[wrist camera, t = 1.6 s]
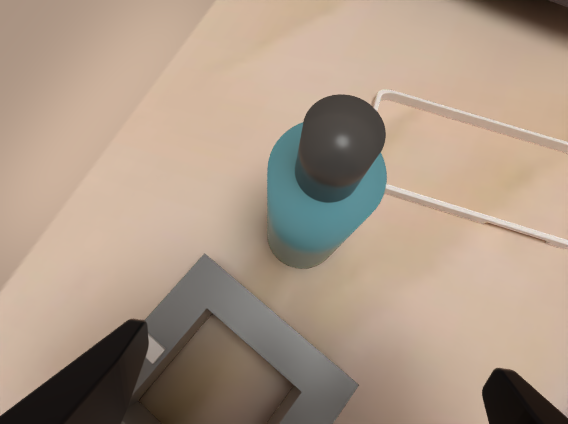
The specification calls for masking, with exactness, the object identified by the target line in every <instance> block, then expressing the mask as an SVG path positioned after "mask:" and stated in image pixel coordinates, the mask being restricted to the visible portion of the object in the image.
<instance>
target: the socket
mask: <svg viewBox="0 0 568 424" xmlns="http://www.w3.org/2000/svg"><path fill="white" fill-rule="evenodd" d="M212 313H213V314H214V315H215V316H216V317H217V318H219V319H220V320H221V321H222V322H223V323H224V324H225V325H227V326H228V327H229V328H230V329H231V330H232V331H233V332H234V333H236V334H237V335H238V336H239V337H240V338H241V339H242V340H244V341H245V342H246V343H247V344H248V345H249V346H250V347H252V348H253V349H254V350H255V351H256V352H257V353H258V354H259V355H261V356H262V357H263V358H264V359H265V360H266V361H267V362H269V363H270V364H271V365H272V366H273V367H274V368H275V369H276V370H278V371H279V372H280V373H281V374H282V375H283V376H284V377H286V378H287V379H288V380H289V381H290V382H291V383H292V384H293V385H294V386H293V388H292V389H291V391H290V392H289V393H288V395H287V396H286V397H285V399H284V400H283V402H282V403H281V404H280V406H279V407H278V408H277V410H276V411H275V412H274V414H273V415H272V417H271V418H270V419H269V421H268V422H267V423H266V424H333V423H334V421H335V420H336V418H337V417H338V415H339V414H340V412H341V411H342V410H343V408H344V407H345V405H346V404H347V402H348V401H349V399H350V398H351V396H352V395H353V393H354V392H355V390H356V389H357V387H358V386H359V384H357V383H356V382H355V381H354V380H353V379H351V378H350V377H349V376H348V375H347V374H346V373H344V372H343V371H342V370H341V369H340V368H339V367H337V366H336V365H335V364H334V363H333V362H332V361H330V360H329V359H328V358H327V357H326V356H324V355H323V354H322V353H321V352H320V351H319V350H317V349H316V348H315V347H314V346H313V345H312V344H310V343H309V342H308V341H307V340H306V339H305V338H303V337H302V336H301V335H300V334H299V333H297V332H296V331H295V330H294V329H293V328H292V327H290V326H289V325H288V324H287V323H286V322H285V321H283V320H282V319H281V318H280V317H279V316H278V315H276V314H275V313H274V312H273V311H272V310H271V309H269V308H268V307H267V306H266V305H265V304H263V303H262V302H261V301H260V300H259V299H258V298H256V297H255V296H254V295H253V294H252V293H251V292H249V291H248V290H247V289H246V288H245V287H244V286H242V285H241V284H240V283H239V282H238V281H236V280H235V279H234V278H233V277H232V276H231V275H229V274H228V273H227V272H226V271H225V270H224V269H222V268H221V267H220V266H219V265H218V264H217V263H215V262H214V261H213V260H212V259H211V258H209V257H208V256H207V255H206V254H204V255H203V256H202V257H201V258H200V259H199V260H198V261H197V263H196V264H195V265H194V266H193V267H192V268H191V269H190V270H189V271H188V273H187V274H186V275H185V276H184V277H183V278H182V279H181V280H180V281H179V283H178V284H177V285H176V286H175V287H174V288H173V289H172V290H171V291H170V293H169V294H168V295H167V296H166V297H165V298H164V299H163V300H162V301H161V303H160V304H159V305H158V306H157V307H156V308H155V309H154V310H153V311H152V313H151V314H150V315H149V316H148V317H147V318H146V319H145V320H144V321H146V322H147V326H148V338H149V347H148V351H147V354H146V357H145V360H144V363H143V366H142V369H141V371H140V374H139V377H138V380H137V383H136V386H135V389H134V391H133V394H132V397H131V400H130V403H129V405H128V408H127V411H126V413H125V416H124V418H123V420H122V422H121V424H162V423H160V422H159V421H158V420H157V419H156V418H155V417H154V416H153V415H152V414H151V413H150V412H149V411H148V410H147V409H146V408H145V407H144V406H143V405H142V404H141V403H140V402H139V401H138V400H139V399H140V398H141V397H142V395H143V394H144V393H145V392H146V391H147V389H148V388H149V387H150V386H151V385H152V384H153V382H154V381H155V380H156V379H157V378H158V376H159V375H160V374H161V373H162V372H163V371H164V369H165V368H166V367H167V366H168V365H169V363H170V362H171V361H172V360H173V359H174V358H175V356H176V355H177V354H178V353H179V352H180V350H181V349H182V348H183V347H184V346H185V345H186V343H187V342H188V341H189V340H190V339H191V337H192V336H193V335H194V334H195V333H196V332H197V330H198V329H199V328H200V327H201V326H202V324H203V323H204V322H205V321H206V320H207V319H208V317H209V316H210V315H211V314H212Z"/></svg>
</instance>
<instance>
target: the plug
mask: <svg viewBox="0 0 568 424" xmlns="http://www.w3.org/2000/svg"><path fill="white" fill-rule="evenodd" d="M385 137H386V132H385V126H384V123H383V120H382V118H381V117H380V115H379V113H378V112H377V111H376V110H375V109H374V108H373V107H372V106H371V105H370V104H369V103H367V102H366V101H364V100H362V99H360V98H357V97H354V96H350V95H332V96H328V97H325V98H323V99H321V100H319V101H318V102H316V103H315V104H314V105H313V106H312V107H311V108H310V109H309V110H308V112H307V114H306V116H305V118H304V122H303V123H300V124H298V125H296V126H294V127H292V128H291V129H289V130H288V131H287V132H286V133H284V134H283V135H282V136H281V137H280V139H279V140H278V141H277V142H276V144H275V146H274V147H273V149H272V152H271V154H270V158H269V161H268V174H267V238H268V243H269V246H270V248H271V250H272V252H273V253H274V255H275V256H276V257H277V258H278V259H279V260H280V261H282V262H283V263H284V264H286V265H288V266H291V267H295V268H301V269H302V268H311V267H314V266H317V265H319V264H321V263H322V262H324V261H325V260H326V259H327V258H328V257H329V256H330V255H331V254H332V253H333V252H334V251H335V250H336V249H337V248H338V247H339V246H340V245H341V244H342V243H343V242H344V241H345V240H346V239H347V238H348V237H349V236H350V235H351V234H352V233H353V232H354V231H355V230H356V229H357V228H358V227H359V226H360V225H361V224H362V223H363V222H364V221H365V220H366V219H367V218H368V217H369V216H370V215H371V214H372V212H373V211H374V210H375V209H376V208H377V206H378V205H379V203H380V202H381V199H382V197H383V195H384V192H385V188H386V182H387V173H386V166H385V163H384V159H383V157H382V154H381V150H382V148H383V146H384V143H385Z"/></svg>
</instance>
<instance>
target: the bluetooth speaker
mask: <svg viewBox="0 0 568 424" xmlns="http://www.w3.org/2000/svg"><path fill="white" fill-rule="evenodd" d="M549 1H551V2H554V3H557V4H560V5H562V6H565V7H568V0H549Z"/></svg>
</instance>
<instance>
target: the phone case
mask: <svg viewBox="0 0 568 424" xmlns="http://www.w3.org/2000/svg"><path fill="white" fill-rule="evenodd" d="M382 100H388V101H393V102H396V103H400V104H403V105H407V106H410V107H413V108H417V109H420V110H423V111H427V112H430V113H433V114H437V115H440V116H443V117H447V118H450V119H453V120H457V121H460V122H463V123H467V124H470V125H473V126H477V127H480V128H483V129H487V130H490V131H493V132H497V133H500V134H503V135H507V136H510V137H513V138H517V139H520V140H524V141H527V142H530V143H534V144H537V145H540V146H544V147H547V148H550V149H554V150H557V151H560V152H563V153H566V154H568V142H566V141H562V140H559V139H556V138H552V137H549V136H545V135H542V134H539V133H535V132H532V131H529V130H525V129H522V128H519V127H515V126H512V125H508V124H505V123H502V122H498V121H495V120H492V119H488V118H485V117H482V116H478V115H475V114H471V113H468V112H465V111H461V110H458V109H455V108H451V107H448V106H445V105H441V104H438V103H434V102H431V101H428V100H424V99H421V98H418V97H414V96H411V95H408V94H404V93H401V92H397V91H394V90H389V89H383V90H380V91H379V92H378V93H377V95H376V97H375V100H374V103H373V108H374V109H375V110H376V111H377V110H378V107H379V103H380V101H382ZM384 193H385V194H388V195H391V196H394V197H398V198H401V199H404V200H407V201H410V202H414V203H417V204H420V205H423V206H427V207H430V208H433V209H436V210H439V211H443V212H446V213H449V214H452V215H455V216H459V217H462V218H465V219H468V220H471V221H475V222H478V223H481V224H484V223H491V224H494V225H497V226H500V227H504V228H507V229H510V230H513V231H516V232H520V233H523V234H526V235H529V236H533V237H536V238H539V239H542V240H545V241H546V244H549V245H552V246H555V247H558V248H565V249H567V248H568V240H566V239H563V238H559V237H556V236H553V235H550V234H546V233H543V232H540V231H537V230H534V229H530V228H527V227H524V226H521V225H517V224H514V223H511V222H508V221H505V220H501V219H498V218H495V217H492V216H488V215H485V214H482V213H479V212H475V211H472V210H469V209H466V208H463V207H459V206H456V205H453V204H450V203H446V202H443V201H440V200H437V199H433V198H430V197H427V196H424V195H421V194H417V193H414V192H411V191H408V190H404V189H401V188H398V187H395V186H392V185H388V184H386V188H385V192H384Z"/></svg>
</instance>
